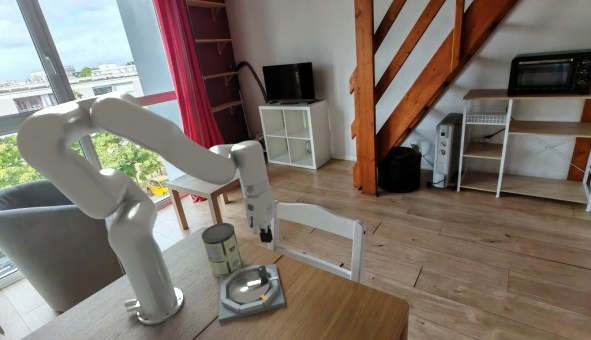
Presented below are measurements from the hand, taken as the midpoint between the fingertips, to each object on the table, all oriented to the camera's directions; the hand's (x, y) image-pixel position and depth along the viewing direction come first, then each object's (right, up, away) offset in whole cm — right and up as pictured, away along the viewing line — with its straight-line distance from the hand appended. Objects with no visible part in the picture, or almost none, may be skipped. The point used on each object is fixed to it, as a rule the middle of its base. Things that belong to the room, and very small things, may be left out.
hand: (267, 240), depth 88 cm
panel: (-5, -15, 0) cm, 16 cm away
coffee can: (-15, -12, +12) cm, 22 cm away
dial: (-5, -14, -1) cm, 15 cm away
